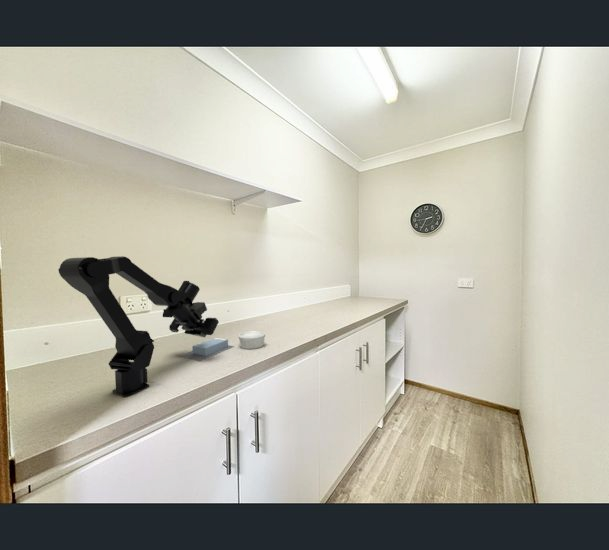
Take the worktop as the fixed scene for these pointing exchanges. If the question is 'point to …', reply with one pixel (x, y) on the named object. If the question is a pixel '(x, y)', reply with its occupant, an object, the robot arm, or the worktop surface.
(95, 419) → the worktop surface
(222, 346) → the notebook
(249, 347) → the ramekin
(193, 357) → the mat
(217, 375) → the worktop surface
